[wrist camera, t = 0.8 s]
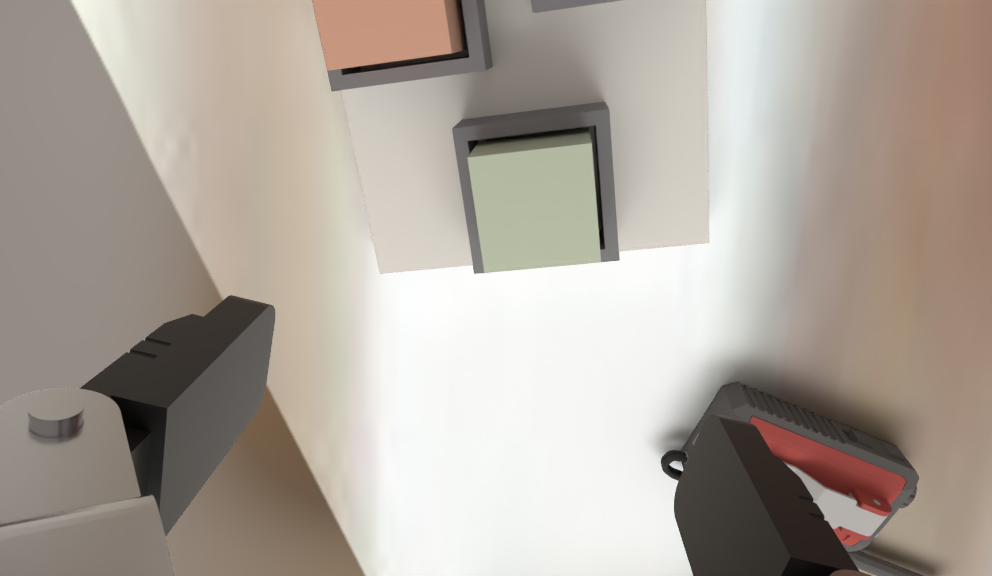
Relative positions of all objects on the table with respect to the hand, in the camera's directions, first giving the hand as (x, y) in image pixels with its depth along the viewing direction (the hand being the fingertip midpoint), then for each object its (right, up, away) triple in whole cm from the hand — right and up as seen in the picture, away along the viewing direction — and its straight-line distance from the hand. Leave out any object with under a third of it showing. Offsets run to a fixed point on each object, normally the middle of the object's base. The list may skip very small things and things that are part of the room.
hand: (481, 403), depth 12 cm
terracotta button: (-4, +15, +16) cm, 22 cm away
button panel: (+1, +13, +20) cm, 24 cm away
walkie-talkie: (+20, -10, +28) cm, 36 cm away
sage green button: (+2, +7, +19) cm, 20 cm away
